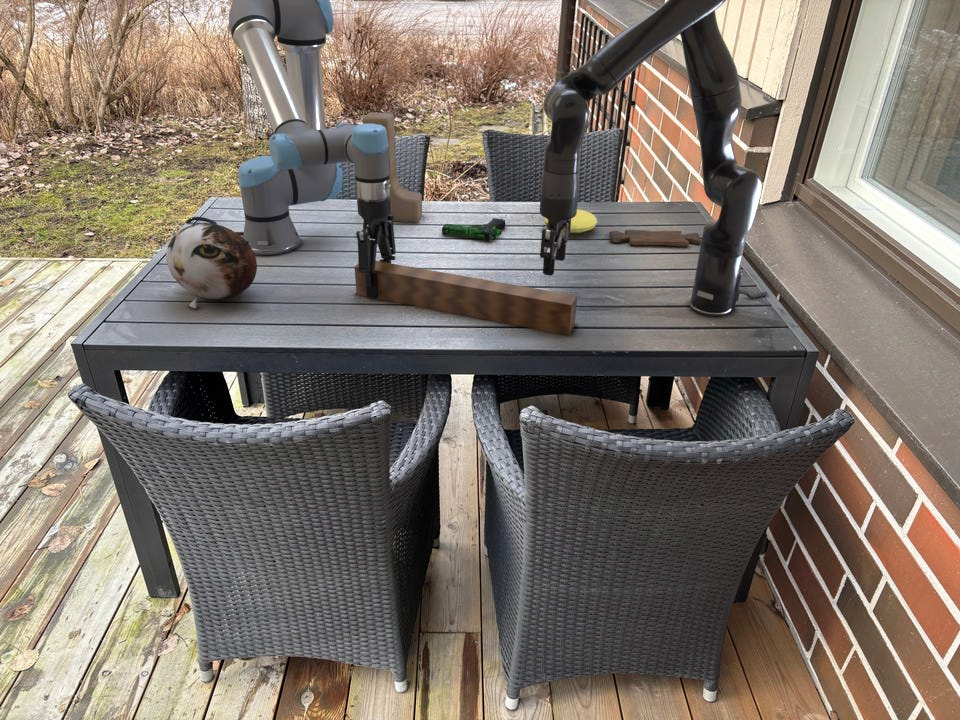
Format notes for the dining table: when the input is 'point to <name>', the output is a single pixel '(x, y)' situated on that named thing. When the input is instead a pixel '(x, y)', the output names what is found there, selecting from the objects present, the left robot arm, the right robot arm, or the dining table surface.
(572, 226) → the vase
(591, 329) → the dining table surface
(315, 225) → the dining table surface
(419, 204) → the decorative block
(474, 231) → the handgun
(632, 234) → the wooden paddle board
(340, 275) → the dining table surface
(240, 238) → the cat face ball toy
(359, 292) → the bar
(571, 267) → the dining table surface
